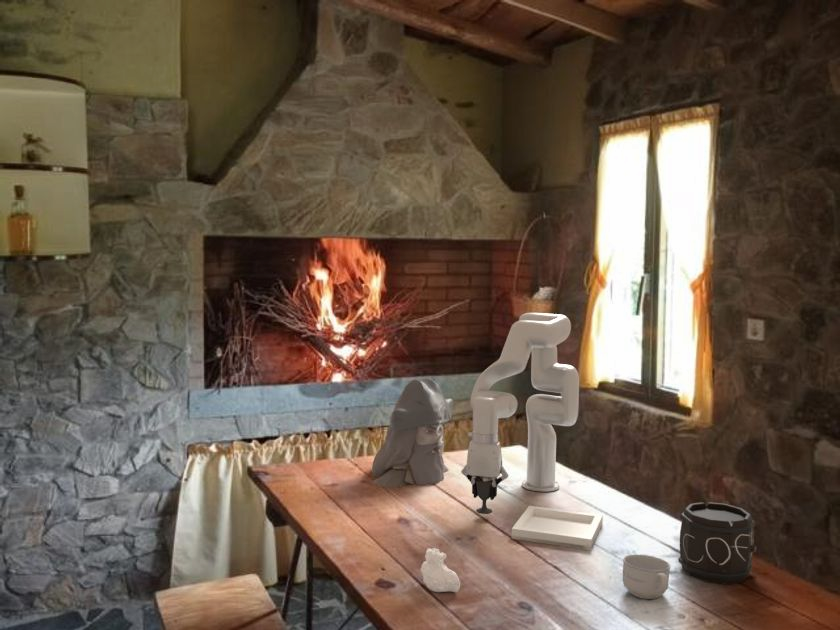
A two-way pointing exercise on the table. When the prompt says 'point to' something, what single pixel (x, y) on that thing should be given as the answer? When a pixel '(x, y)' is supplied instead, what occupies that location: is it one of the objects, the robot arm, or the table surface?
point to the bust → (414, 437)
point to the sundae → (483, 493)
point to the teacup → (645, 575)
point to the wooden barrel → (716, 542)
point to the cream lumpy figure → (438, 573)
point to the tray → (558, 527)
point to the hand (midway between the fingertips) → (484, 496)
